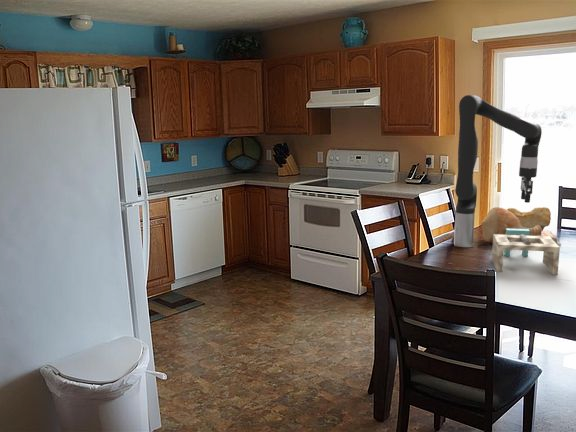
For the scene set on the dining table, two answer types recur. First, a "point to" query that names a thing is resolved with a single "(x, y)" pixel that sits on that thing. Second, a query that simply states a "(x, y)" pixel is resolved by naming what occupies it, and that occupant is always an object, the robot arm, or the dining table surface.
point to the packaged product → (549, 233)
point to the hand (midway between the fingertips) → (525, 200)
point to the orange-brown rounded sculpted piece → (503, 224)
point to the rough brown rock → (533, 217)
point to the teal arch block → (517, 232)
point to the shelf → (528, 244)
